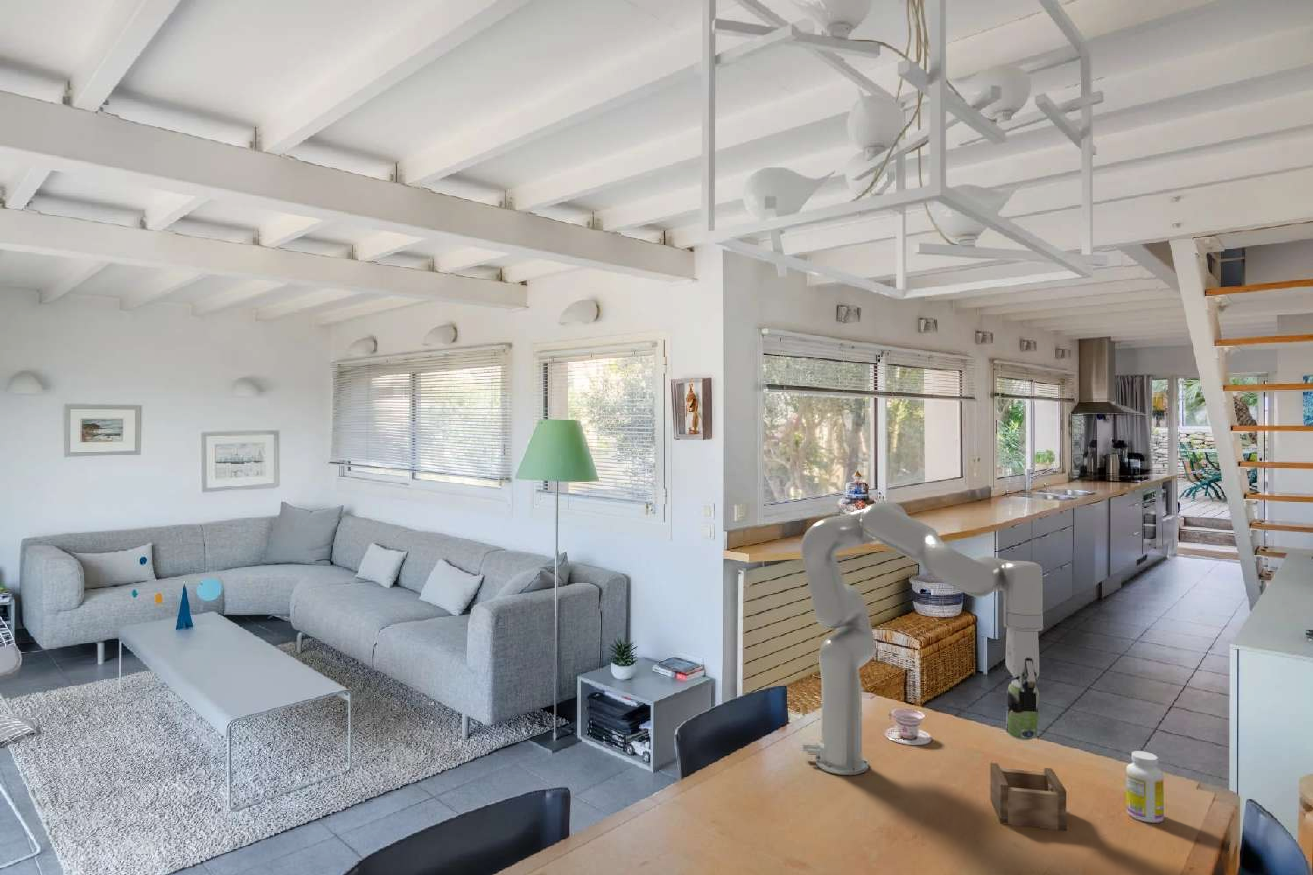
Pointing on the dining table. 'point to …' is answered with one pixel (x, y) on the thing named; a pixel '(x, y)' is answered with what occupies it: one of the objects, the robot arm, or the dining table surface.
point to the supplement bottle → (1145, 788)
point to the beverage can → (1020, 714)
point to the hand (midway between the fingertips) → (1023, 704)
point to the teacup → (907, 727)
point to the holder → (1028, 797)
